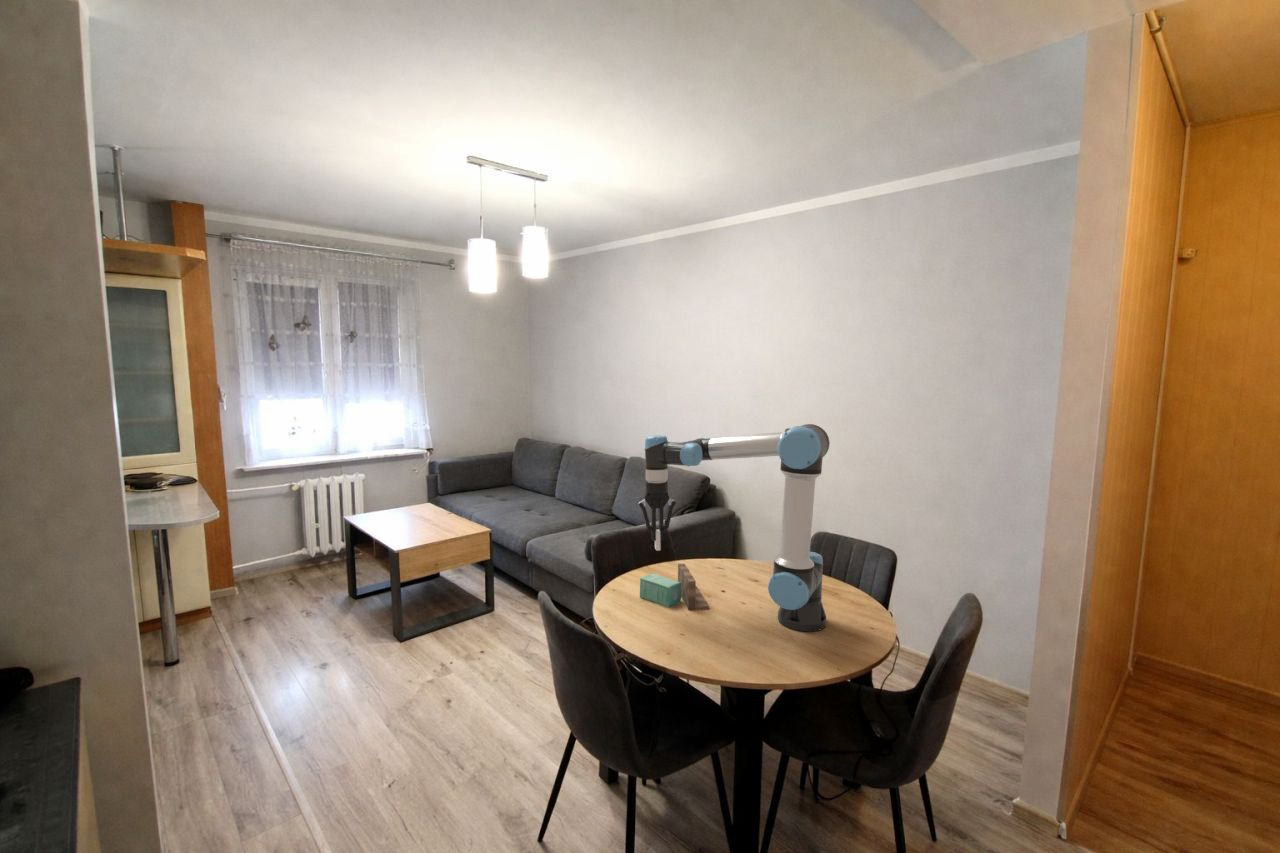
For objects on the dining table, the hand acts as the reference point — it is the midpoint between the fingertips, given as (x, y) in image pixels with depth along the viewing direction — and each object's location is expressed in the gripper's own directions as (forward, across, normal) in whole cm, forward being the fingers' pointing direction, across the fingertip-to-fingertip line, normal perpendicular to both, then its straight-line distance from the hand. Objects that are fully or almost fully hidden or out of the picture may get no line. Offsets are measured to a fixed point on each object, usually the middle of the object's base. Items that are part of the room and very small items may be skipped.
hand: (657, 549), depth 189 cm
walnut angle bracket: (+20, -13, -5) cm, 25 cm away
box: (+20, -2, -6) cm, 21 cm away
